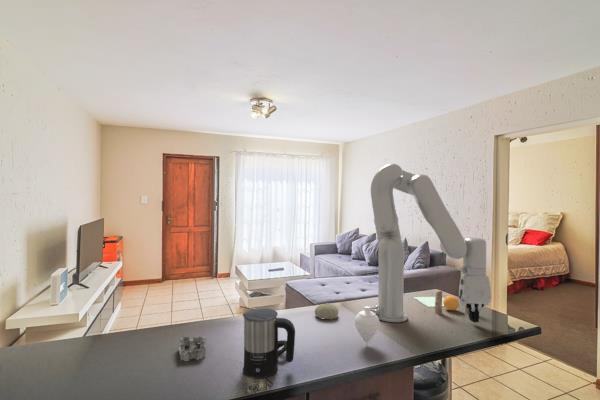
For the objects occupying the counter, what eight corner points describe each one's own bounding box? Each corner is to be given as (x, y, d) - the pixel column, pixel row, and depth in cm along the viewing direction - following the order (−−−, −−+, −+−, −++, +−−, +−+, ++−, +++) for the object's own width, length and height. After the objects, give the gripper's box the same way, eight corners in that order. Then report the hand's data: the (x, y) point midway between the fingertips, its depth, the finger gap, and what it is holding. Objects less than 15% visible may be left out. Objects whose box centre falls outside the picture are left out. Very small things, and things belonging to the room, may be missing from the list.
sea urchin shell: (308, 310, 127) (321, 294, 130) (320, 322, 129) (333, 306, 132) (319, 317, 119) (333, 300, 121) (332, 330, 121) (345, 313, 124)
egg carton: (180, 347, 98) (180, 334, 98) (205, 344, 100) (206, 331, 100) (177, 364, 88) (177, 349, 88) (206, 360, 90) (206, 345, 90)
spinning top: (379, 341, 103) (380, 304, 103) (379, 352, 95) (379, 312, 96) (355, 338, 105) (356, 302, 105) (353, 349, 98) (353, 309, 98)
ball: (448, 313, 132) (449, 298, 131) (439, 307, 138) (440, 293, 137) (461, 313, 133) (462, 298, 132) (452, 307, 139) (453, 293, 138)
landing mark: (427, 307, 139) (427, 306, 139) (413, 297, 153) (413, 297, 153) (458, 306, 140) (458, 306, 140) (441, 297, 154) (441, 296, 154)
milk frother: (243, 381, 79) (244, 321, 79) (238, 352, 94) (239, 302, 94) (299, 374, 83) (300, 316, 83) (285, 347, 98) (286, 298, 98)
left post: (437, 314, 129) (437, 292, 129) (433, 312, 132) (434, 290, 132) (443, 314, 130) (443, 292, 130) (439, 312, 132) (440, 290, 132)
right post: (467, 313, 131) (468, 291, 131) (463, 311, 133) (464, 290, 133) (473, 313, 131) (474, 291, 131) (469, 311, 133) (470, 289, 134)
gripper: (461, 273, 114) (460, 325, 114) (500, 273, 116) (500, 324, 115) (449, 269, 122) (449, 317, 121) (486, 269, 123) (486, 317, 123)
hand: (473, 321), depth 118 cm, fingers closed
